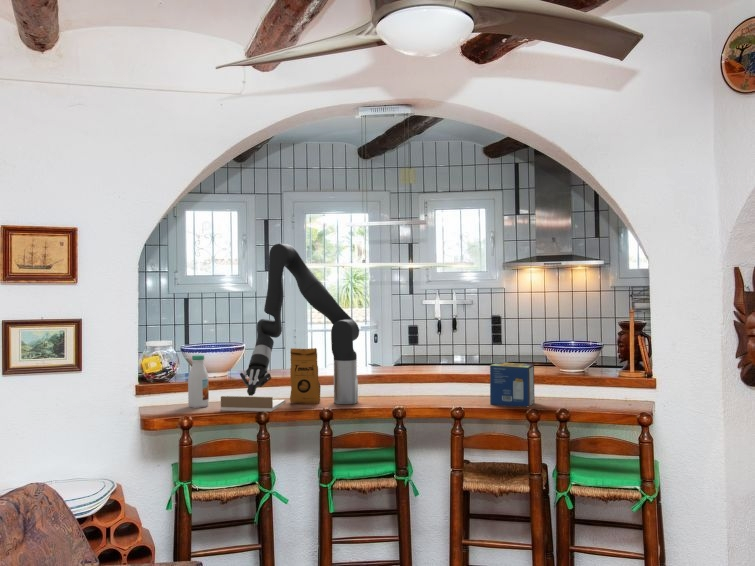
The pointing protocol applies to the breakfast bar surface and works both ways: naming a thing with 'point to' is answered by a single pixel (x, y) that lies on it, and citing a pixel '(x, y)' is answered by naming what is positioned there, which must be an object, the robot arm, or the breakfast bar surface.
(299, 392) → the coffee package
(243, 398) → the board
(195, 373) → the milk bottle
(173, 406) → the breakfast bar surface
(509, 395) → the protein box
